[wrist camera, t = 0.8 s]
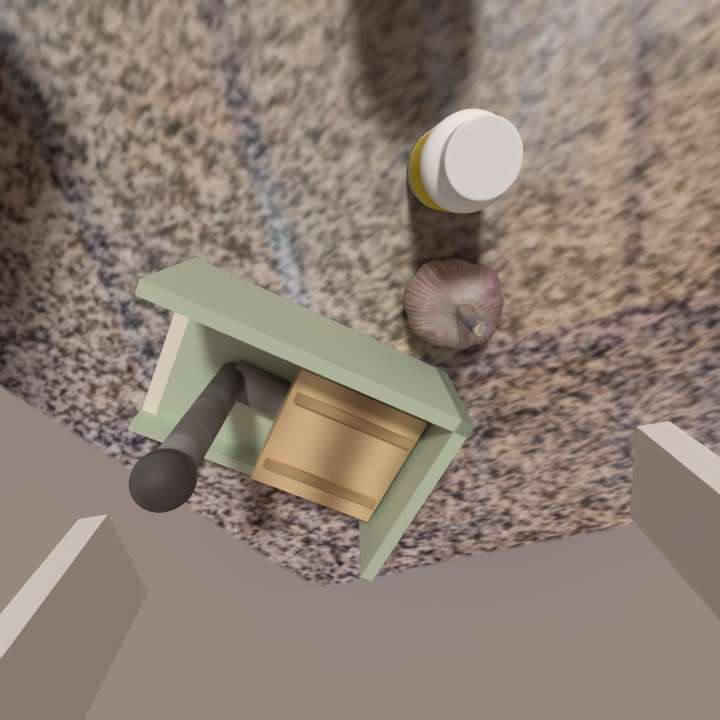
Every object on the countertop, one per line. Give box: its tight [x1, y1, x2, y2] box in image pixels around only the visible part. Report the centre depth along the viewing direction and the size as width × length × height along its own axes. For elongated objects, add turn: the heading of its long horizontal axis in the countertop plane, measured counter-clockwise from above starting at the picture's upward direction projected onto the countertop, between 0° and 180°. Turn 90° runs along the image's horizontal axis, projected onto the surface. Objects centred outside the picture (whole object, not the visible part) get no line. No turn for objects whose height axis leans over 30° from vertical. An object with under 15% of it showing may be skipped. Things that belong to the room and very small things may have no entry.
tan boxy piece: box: [129, 360, 428, 522], centre depth 29 cm, size 16×10×15 cm, turn 64°
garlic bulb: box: [402, 259, 503, 350], centre depth 30 cm, size 8×7×8 cm
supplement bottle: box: [407, 109, 523, 213], centre depth 25 cm, size 5×5×10 cm
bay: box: [128, 258, 474, 581], centre depth 32 cm, size 22×15×9 cm
